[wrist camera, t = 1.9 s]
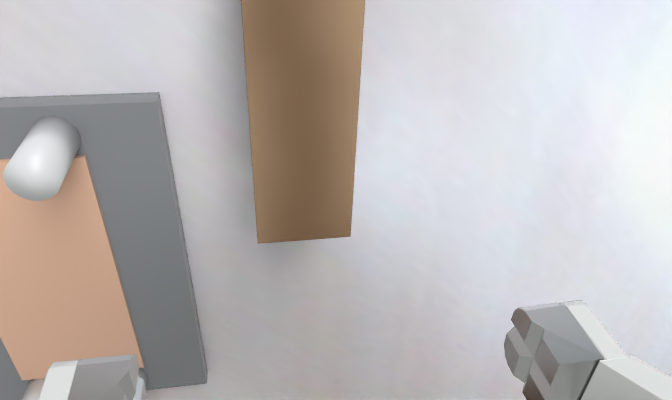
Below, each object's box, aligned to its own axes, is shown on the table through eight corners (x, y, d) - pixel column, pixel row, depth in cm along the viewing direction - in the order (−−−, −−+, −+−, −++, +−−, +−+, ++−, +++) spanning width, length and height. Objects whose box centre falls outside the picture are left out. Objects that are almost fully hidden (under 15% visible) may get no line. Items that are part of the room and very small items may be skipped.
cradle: (158, 92, 24) (145, 140, 20) (207, 370, 35) (204, 432, 32) (-191, 104, 22) (-275, 159, 18) (-19, 395, 33) (-50, 464, 30)
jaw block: (336, -66, 21) (367, -34, 17) (329, 165, 28) (350, 236, 23) (237, -67, 21) (238, -34, 16) (253, 169, 27) (257, 243, 22)
